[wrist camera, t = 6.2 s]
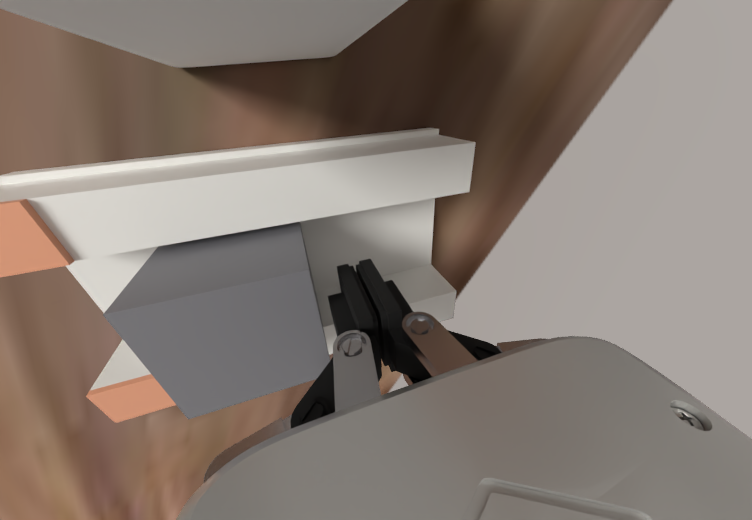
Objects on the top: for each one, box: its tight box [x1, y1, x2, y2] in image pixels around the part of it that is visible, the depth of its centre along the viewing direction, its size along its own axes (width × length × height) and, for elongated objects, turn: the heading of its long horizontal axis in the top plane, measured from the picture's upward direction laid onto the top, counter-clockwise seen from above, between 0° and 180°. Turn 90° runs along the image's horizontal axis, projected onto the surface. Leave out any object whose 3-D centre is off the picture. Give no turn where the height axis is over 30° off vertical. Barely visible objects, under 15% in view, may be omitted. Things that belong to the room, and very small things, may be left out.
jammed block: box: [103, 222, 330, 419], centre depth 13 cm, size 6×6×7 cm
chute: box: [0, 128, 476, 423], centre depth 15 cm, size 20×12×5 cm, turn 96°
